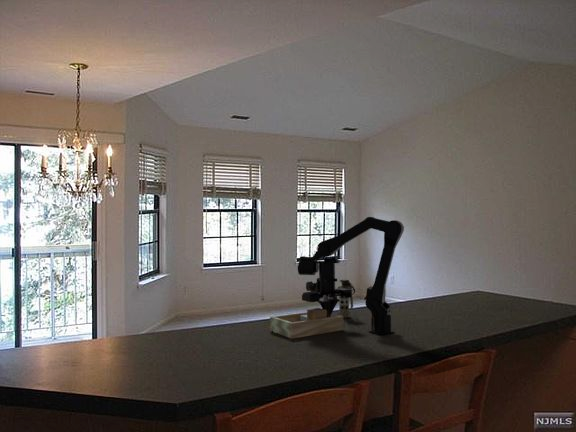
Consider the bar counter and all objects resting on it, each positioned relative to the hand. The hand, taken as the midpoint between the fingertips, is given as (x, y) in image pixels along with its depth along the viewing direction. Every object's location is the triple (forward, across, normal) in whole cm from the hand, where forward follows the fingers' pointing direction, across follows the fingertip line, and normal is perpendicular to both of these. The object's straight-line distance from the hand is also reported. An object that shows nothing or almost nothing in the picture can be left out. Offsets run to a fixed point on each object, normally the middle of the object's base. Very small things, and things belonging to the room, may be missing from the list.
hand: (327, 318), depth 183 cm
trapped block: (+4, +4, -6) cm, 8 cm away
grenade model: (+4, -20, -13) cm, 24 cm away
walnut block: (+1, +5, 0) cm, 5 cm away
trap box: (+4, +7, -3) cm, 9 cm away
